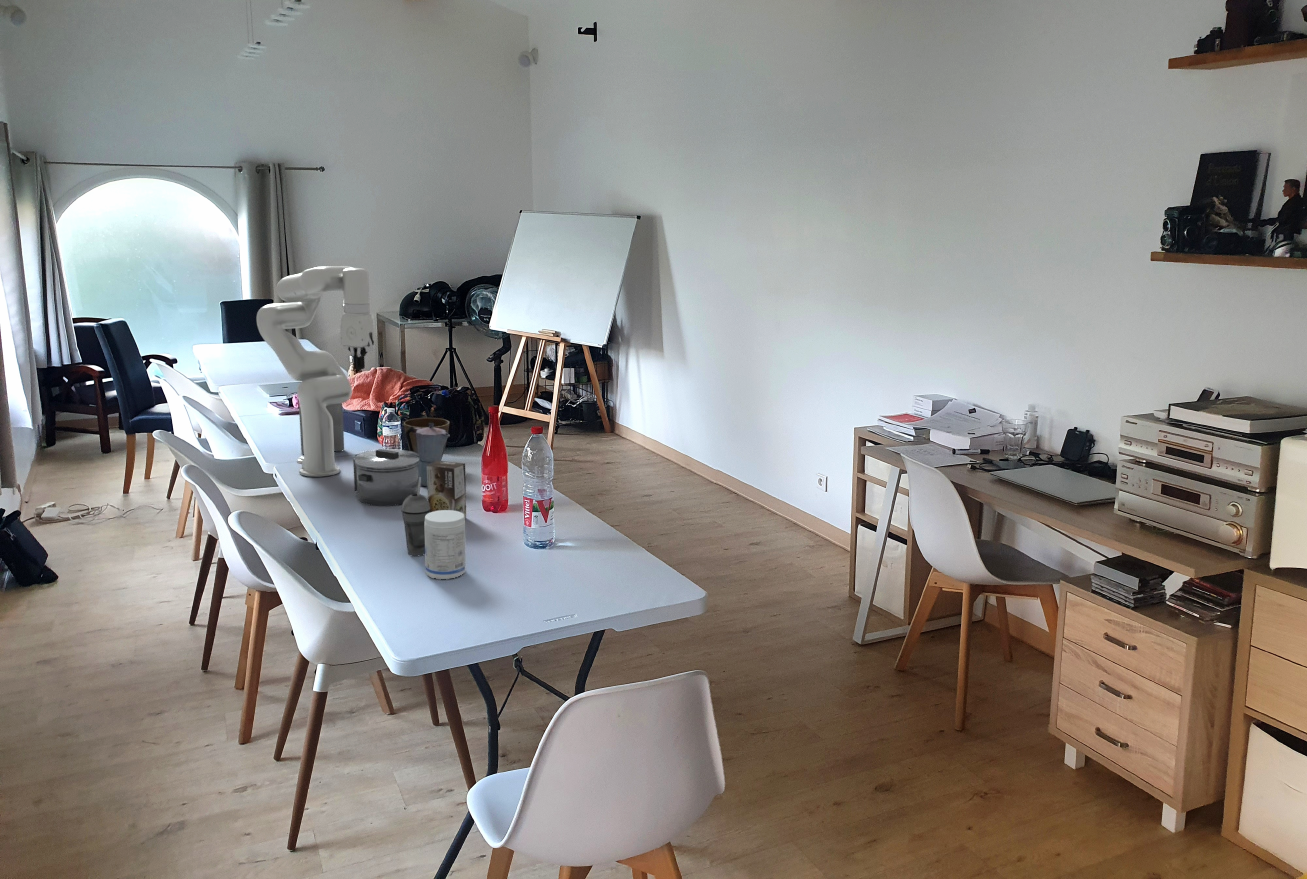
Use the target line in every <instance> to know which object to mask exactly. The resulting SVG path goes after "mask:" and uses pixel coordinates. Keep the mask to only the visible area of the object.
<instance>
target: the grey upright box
mask: <svg viewBox="0 0 1307 879" xmlns="http://www.w3.org/2000/svg"><path fill="white" fill-rule="evenodd" d="M326 409H327V410H328V412H329V413H330V414H331V416H332V419H333V435H334V451H340V452H343V451H345V437H344V435H345V434H344V433H345V432H344V416H343V415H344V411H343V403H339V404H333V405H328V406H326ZM298 412H299V413H298V414H299V415H298V416H299V429H300V430H299V432H300V450H301V452H300V453H301V454H302V455H303V454H304V447H303V428H302V415H301V408H300V404H299V405H298ZM342 450H343V451H342Z"/></svg>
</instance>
